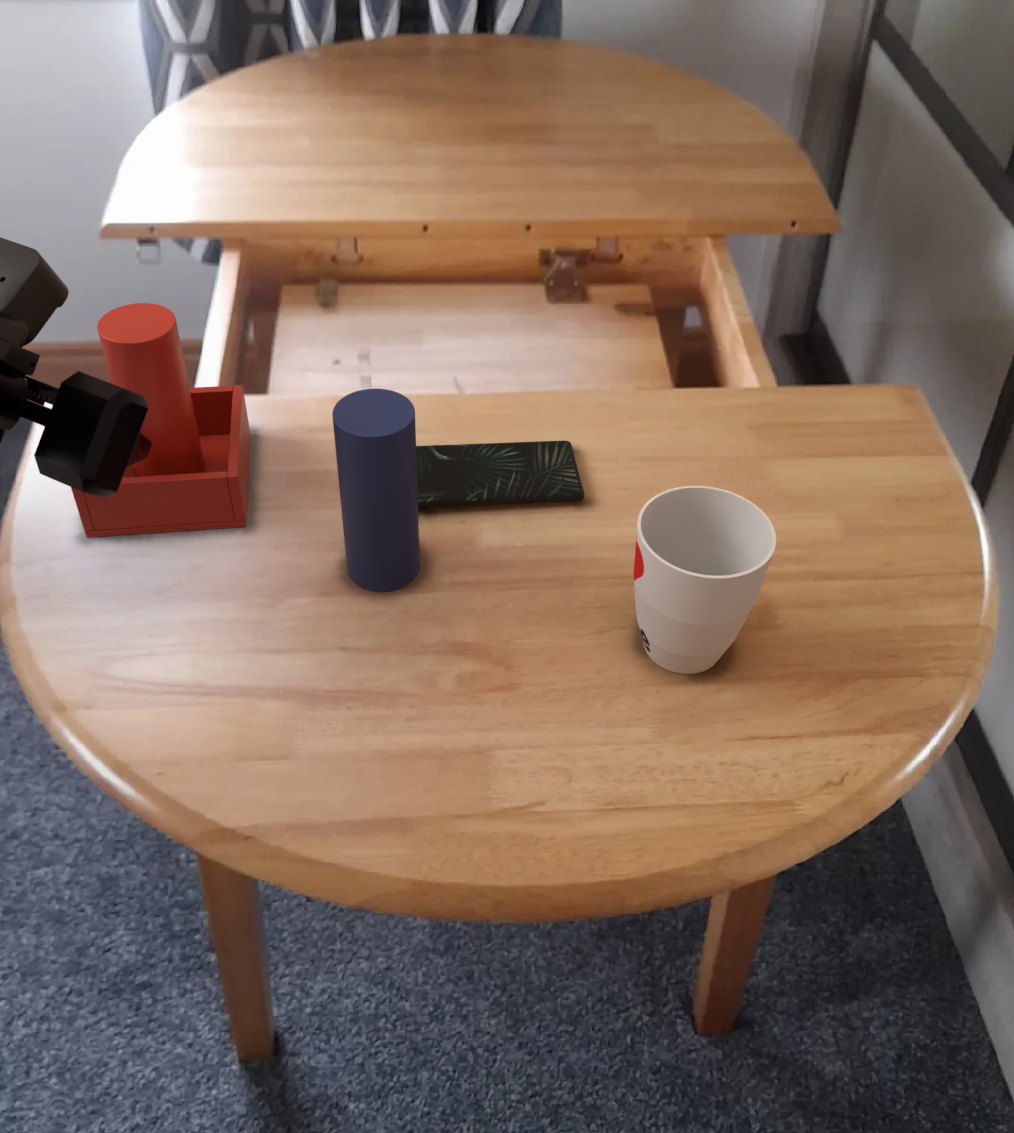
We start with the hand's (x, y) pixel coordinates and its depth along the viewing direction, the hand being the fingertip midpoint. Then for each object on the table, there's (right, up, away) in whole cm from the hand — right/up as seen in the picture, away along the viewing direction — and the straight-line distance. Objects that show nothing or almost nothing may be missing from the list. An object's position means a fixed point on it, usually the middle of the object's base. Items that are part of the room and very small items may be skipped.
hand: (93, 427), depth 73 cm
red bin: (+2, -3, +10) cm, 10 cm away
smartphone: (+25, -3, +11) cm, 27 cm away
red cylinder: (+2, -3, +9) cm, 10 cm away
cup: (+38, -14, -1) cm, 41 cm away
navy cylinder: (+19, -9, +4) cm, 21 cm away
